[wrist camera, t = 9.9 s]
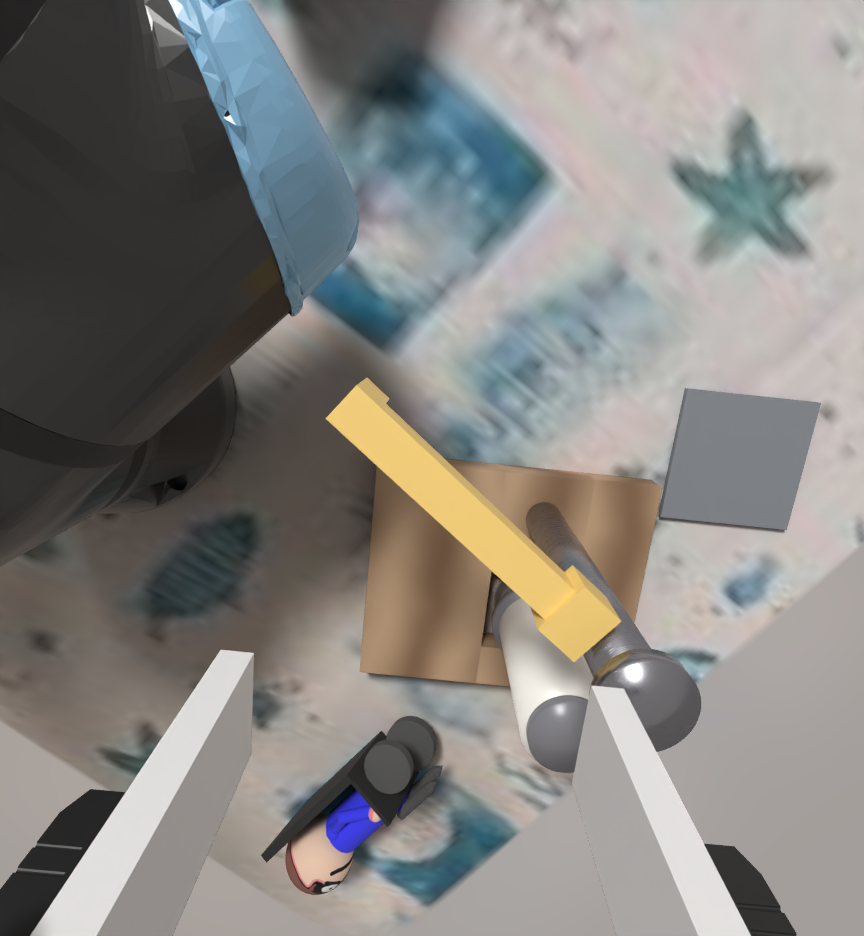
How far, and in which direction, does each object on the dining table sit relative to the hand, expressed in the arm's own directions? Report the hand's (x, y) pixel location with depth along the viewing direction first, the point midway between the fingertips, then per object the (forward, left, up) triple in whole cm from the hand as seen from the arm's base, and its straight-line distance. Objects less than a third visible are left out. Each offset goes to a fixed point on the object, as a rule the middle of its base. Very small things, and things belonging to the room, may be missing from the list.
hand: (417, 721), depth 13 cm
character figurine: (-3, -26, -27) cm, 38 cm away
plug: (+8, -10, -27) cm, 30 cm away
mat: (+21, +2, -27) cm, 34 cm away
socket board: (+6, -8, -27) cm, 29 cm away
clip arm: (+2, +2, -11) cm, 11 cm away
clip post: (+8, -3, -25) cm, 27 cm away
